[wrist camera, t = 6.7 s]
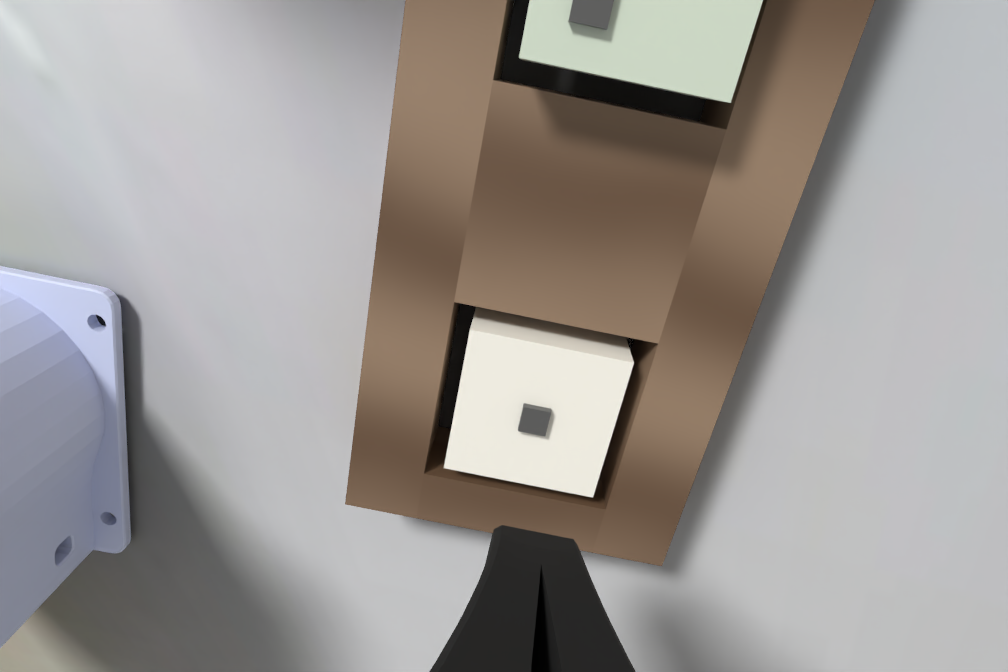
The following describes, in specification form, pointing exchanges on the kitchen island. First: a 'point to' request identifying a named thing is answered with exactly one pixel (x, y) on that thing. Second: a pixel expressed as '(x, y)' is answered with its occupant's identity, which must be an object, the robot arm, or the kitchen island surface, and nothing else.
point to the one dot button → (537, 401)
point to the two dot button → (645, 41)
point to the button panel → (580, 256)
